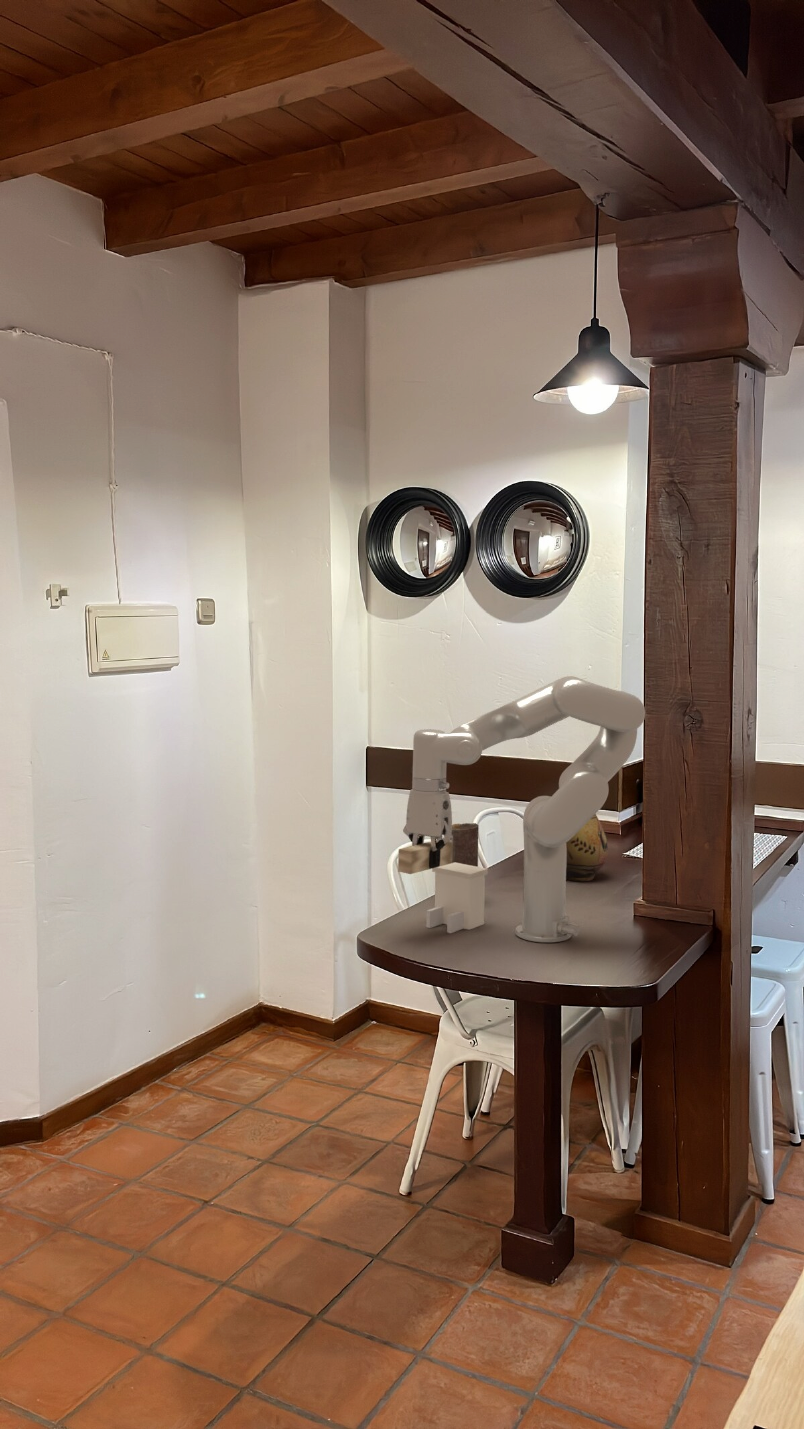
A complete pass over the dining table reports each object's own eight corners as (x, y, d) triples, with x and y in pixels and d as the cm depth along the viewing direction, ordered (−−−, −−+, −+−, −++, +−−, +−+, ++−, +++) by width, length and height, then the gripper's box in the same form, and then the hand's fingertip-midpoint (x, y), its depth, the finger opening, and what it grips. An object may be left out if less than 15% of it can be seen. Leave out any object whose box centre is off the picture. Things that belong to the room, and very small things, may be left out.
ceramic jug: (611, 884, 290) (614, 774, 287) (554, 883, 290) (556, 773, 287) (601, 869, 307) (604, 765, 304) (546, 868, 307) (549, 765, 304)
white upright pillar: (449, 915, 259) (450, 861, 258) (487, 924, 252) (488, 868, 251) (419, 925, 250) (420, 870, 249) (457, 935, 243) (458, 877, 242)
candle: (475, 907, 266) (476, 827, 264) (446, 905, 268) (447, 826, 266) (479, 899, 274) (480, 821, 272) (450, 897, 275) (451, 820, 273)
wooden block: (410, 874, 235) (410, 851, 234) (398, 871, 237) (398, 849, 236) (454, 862, 247) (454, 841, 247) (442, 860, 249) (442, 838, 249)
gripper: (469, 787, 238) (466, 869, 240) (411, 779, 248) (409, 857, 250) (448, 791, 232) (446, 875, 234) (390, 782, 243) (388, 862, 244)
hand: (427, 864), depth 242 cm, fingers closed on wooden block, 3 cm apart
